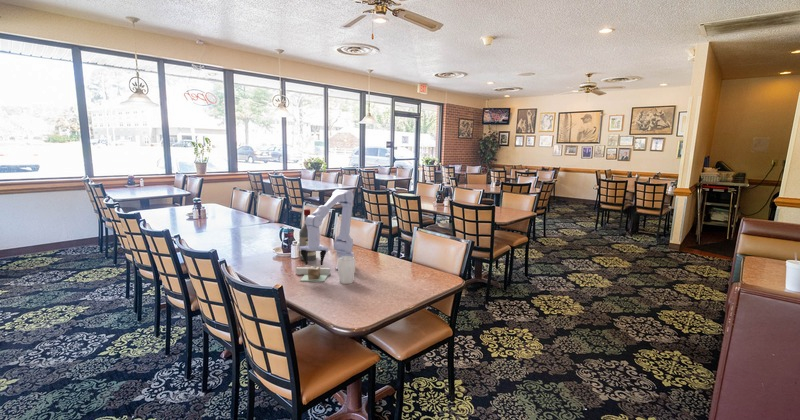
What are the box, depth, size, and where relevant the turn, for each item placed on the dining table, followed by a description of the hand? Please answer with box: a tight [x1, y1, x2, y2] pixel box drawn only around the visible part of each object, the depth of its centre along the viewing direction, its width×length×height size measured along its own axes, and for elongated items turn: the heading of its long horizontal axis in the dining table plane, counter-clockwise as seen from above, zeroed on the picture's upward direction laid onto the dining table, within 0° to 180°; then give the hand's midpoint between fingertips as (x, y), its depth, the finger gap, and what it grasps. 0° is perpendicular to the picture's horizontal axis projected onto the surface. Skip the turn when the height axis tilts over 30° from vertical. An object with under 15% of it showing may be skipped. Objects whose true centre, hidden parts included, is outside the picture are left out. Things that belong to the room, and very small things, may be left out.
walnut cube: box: [308, 265, 321, 279], centre depth 193 cm, size 5×5×5 cm
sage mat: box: [299, 275, 329, 283], centre depth 193 cm, size 12×9×1 cm
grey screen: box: [295, 266, 331, 276], centre depth 199 cm, size 18×1×4 cm, turn 90°
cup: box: [336, 256, 356, 285], centre depth 189 cm, size 9×9×12 cm
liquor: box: [298, 208, 317, 262], centre depth 226 cm, size 9×9×30 cm
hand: (314, 264), depth 192 cm, fingers open, 7 cm apart
